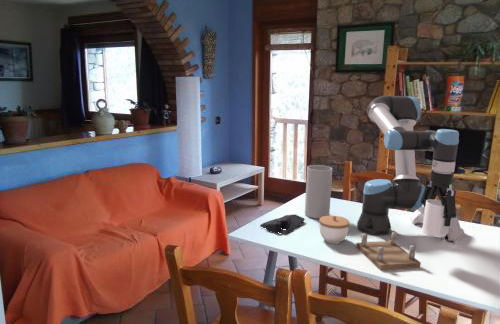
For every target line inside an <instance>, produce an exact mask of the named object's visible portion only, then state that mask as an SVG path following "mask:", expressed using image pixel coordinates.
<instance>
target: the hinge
mask: <svg viewBox="0 0 500 324" xmlns="http://www.w3.org/2000/svg"><path fill="white" fill-rule="evenodd" d="M460 224H461V223H460V221H459V218H458V216H457V215H456V218H451V222H450V226H449V230H448V234H446V236H444V237H441V239H442V241H443V242H446V241H449V242H450V241H452V242H453V244H457V243H458V241H459V240H460V239H461V238H462V237H463V236H464V235H465V230H464V229H463V228H461V225H460Z"/></svg>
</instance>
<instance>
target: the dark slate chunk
mask: <svg viewBox="0 0 500 324" xmlns="http://www.w3.org/2000/svg"><path fill="white" fill-rule="evenodd" d="M304 222H305V218H304V217H302V216H299V215H298V214H286V215H284V216H282V217H279V218H275V219H271V220H268V221H266V222H263V223H261V224H260V225H259V227H260V226H261V227H263V228H266V229H267V230H269V231H268V232H270V231H272V232H271V233H273V232H275V233H274V234H279V233H281V234H280V235H283V234H285V235H288V233H290V232H292V231H294V230H295V229H296V228H297V227H298V226H300V225H301V224H302V223H304ZM261 227H260V228H261ZM263 228H262V229H263ZM281 228H282V229H281ZM266 229H265V230H266ZM283 229H286V230H283ZM293 229H294V230H293ZM267 230H266V231H267ZM278 232H279V233H278Z"/></svg>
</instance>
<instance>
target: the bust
mask: <svg viewBox="0 0 500 324" xmlns="http://www.w3.org/2000/svg"><path fill="white" fill-rule="evenodd" d="M423 211H424V206H423V205H422V207H421V208H419V209H415V210H414V211H413V213H412V214H411V216H410V221H411V223H412V224H413V225H416V224H422V225H423V215H424V213H423Z"/></svg>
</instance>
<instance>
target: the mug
mask: <svg viewBox="0 0 500 324" xmlns="http://www.w3.org/2000/svg"><path fill="white" fill-rule="evenodd" d="M443 212H444V206H442V204H441V200H440V199H436V198H435V199H429V200H427V201H426V206H425V214H424V222H423V223H422V227H421V228H422V229H421V232H422V233H423V234H425V235H427V236H430V237H434V238H435V237H436V238H442V237H444V236H446V234H440V230H441V223H442V217H443V216H444V213H443ZM447 214H448V213H447Z"/></svg>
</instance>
